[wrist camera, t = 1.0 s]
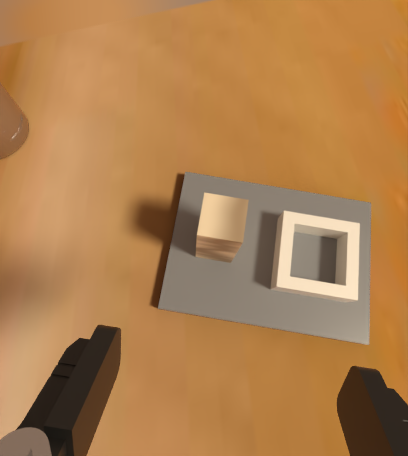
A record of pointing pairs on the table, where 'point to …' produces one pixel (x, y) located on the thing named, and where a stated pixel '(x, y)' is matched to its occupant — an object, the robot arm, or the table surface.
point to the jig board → (276, 262)
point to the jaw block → (221, 227)
